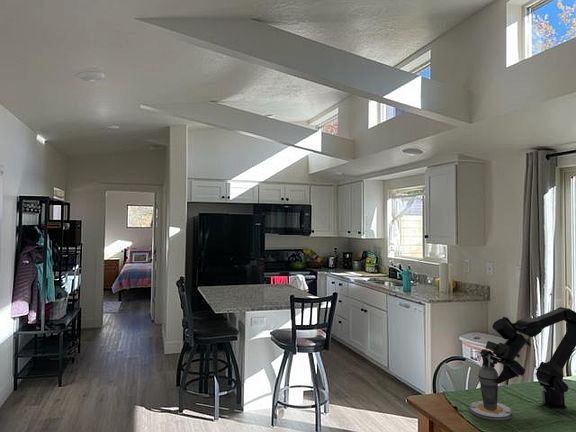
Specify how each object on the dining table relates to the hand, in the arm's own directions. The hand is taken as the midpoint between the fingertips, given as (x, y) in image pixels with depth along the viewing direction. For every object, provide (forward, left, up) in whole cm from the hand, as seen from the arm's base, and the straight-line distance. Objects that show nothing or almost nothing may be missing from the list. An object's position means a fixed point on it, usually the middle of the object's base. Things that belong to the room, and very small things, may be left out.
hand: (488, 379), depth 160 cm
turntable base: (0, 0, -12) cm, 12 cm away
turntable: (0, 0, -12) cm, 12 cm away
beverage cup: (0, 0, -11) cm, 11 cm away
